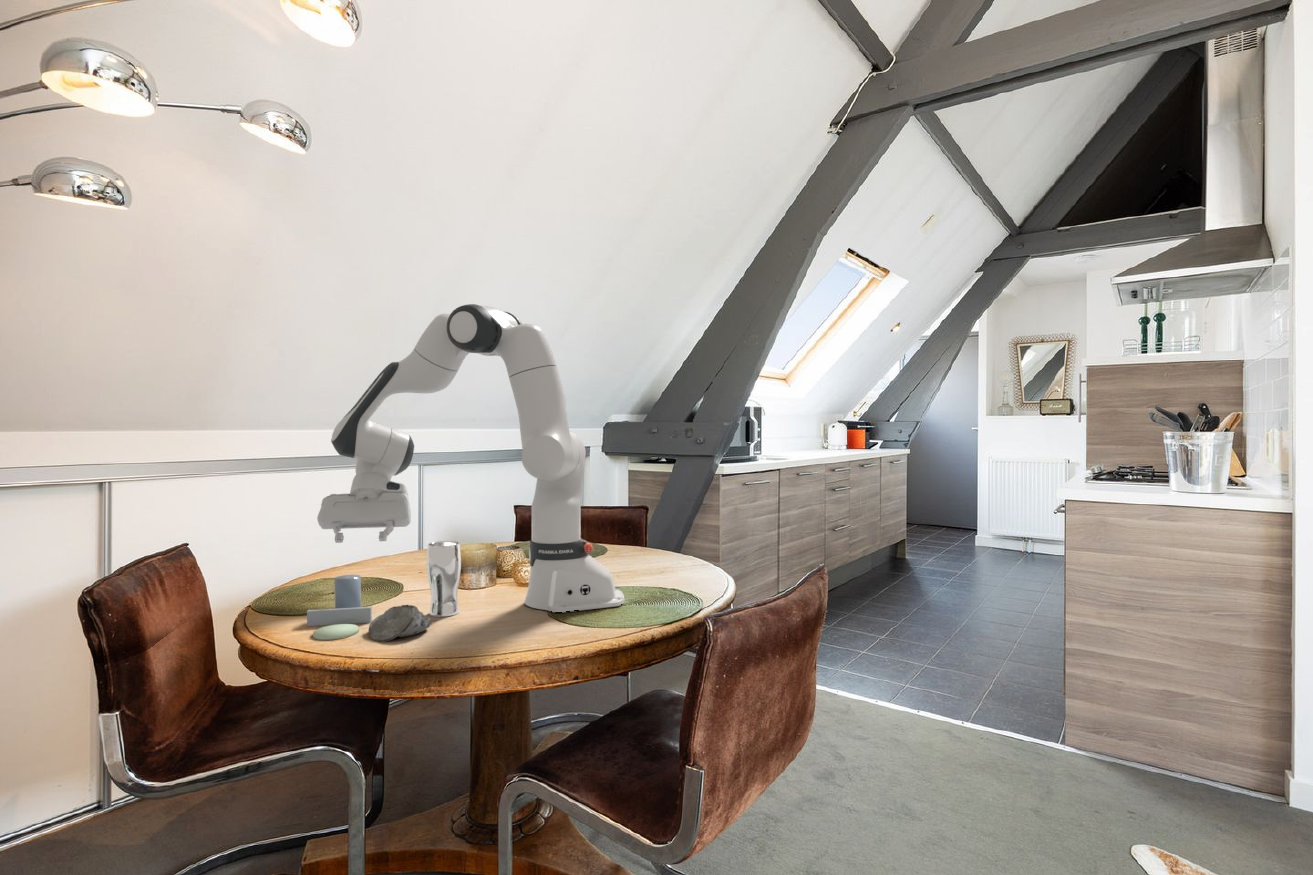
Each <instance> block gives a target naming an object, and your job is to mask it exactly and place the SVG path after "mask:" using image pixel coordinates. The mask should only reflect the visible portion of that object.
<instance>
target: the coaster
mask: <svg viewBox="0 0 1313 875" xmlns="http://www.w3.org/2000/svg"><path fill="white" fill-rule="evenodd" d="M359 630H360V627H359V626H358V625H356V624H337V625H325V626H322V627H320V628H319V627H318V628H317V629H315V630H314V631H312V632H313V633H312V638H313V639H315V640H319V641H334V640H341V639H346V638H349V637H352V636H355V635H357V634H359Z"/></svg>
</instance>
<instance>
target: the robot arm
mask: <svg viewBox="0 0 1313 875" xmlns="http://www.w3.org/2000/svg"><path fill="white" fill-rule="evenodd" d="M469 354H479V355H482V356H486V357H488V356H489V357H495V356H496V357H497V356H498V357H500V358H501V359H502V360H503V362H504V364H505V368H506V372H507V375H508V381H509V382H510V388H511V390H512V394H513V399H514V400H515V405H516V409H517V414H518V415H517V416H518V420H519V421H518V422H519V433H520V440H521V447H522V449H521V462H522V465H523V468H524V469H525V471H526V473H528V474H529V475H530V476H532V477H533V478H535V479H536V483H535V484H536V485H535V490H534V491H535V492H534V495H533V499H532V503H531V539H530V540H529V546H528V558H529V559H528V560H529V562H528V563H529V565H530V572H529V579H528V580H529V582H528V587H527V592H526V596H525V600H524V604H525V606H527V607H530V608H531V609H538V610H545V611H548V612H551V611H552V612H551V613H555V612H562V613H567V612H566V611H570V612H575V611H574V610H579V611H586V610H587V611H588V610H594V609H604V608H613V607H620V606H621V604H622V605H623V604H624V603H625V595H624V593H623V592H622V591H621V590H619V589H618V588H616V587H615V581H614V578H613V574H612V573H611V572H610V570H609V569H608V568H607V567H606V566H605V565H603V564H602V563H600V562H599V561H598V560H597V559H595V558H594V557H593V556H591V555H590V554H591V553H592V552H593V550H594V546H593V544H592V543H590V542H589V541H587V540H585V539H583V538H582V537H581V535H582V532H581V521H582V518H581V516H582V514H581V510H582V508H581V507H582V505H581V504H582V495H583V486H584V478H585V477H584V476H585V465H586V456H587V455H586V454H587V453H586V446H585V444H584V442H583V441H582V439H581V438H580V437H579V436H578V435H577V434H575V433H574V432H572V431H570V428H569V422H568V413H567V404H566V403H567V399H566V396H565V391H564V387H563V384H562V380H561V377H560V373H559V370H558V367H557V362H556V358H555V357H554V354H553V351H552V348H551V346H550V344H549V341H548V339H547V337H546V335H545V333H544V332H543V329H541V328H540V327H539V326H537V325H535V324H531V323H522V322H521V320H520V319H519V318H518V317H517V316H516V315H514V314H512V313H510V312H508V311H503V310H501V309H497V308H495V307H493V306H488V305H478V304H473V303H471V304H470V303H469V304H463V305H460V306H458V307H456V308H455V309H454V310H452V311H451V313H441V314H438V315H436V316H435V317H434V318H433V319H432V321H431V322H430V323H429V324H428V326H427V327H426V328H425V329H424V331H423V332H422V334H421V336H420V337H419V339H418V341H417V343H416V345H414V348H413V349H412V351H411V353H409V354H408V355H407V356H406V357H404V358H403V359H402V360H400V361H393V362H390V363H389V364H388V365H387V366H385V368H383V369H382V371H380V373H379V374H378V375H377V376H376V378H375V379H374V380H373V381H372V383H371V384H370V385H368V388H367V389H366V390H365V391H364V392H363V394H362V395H361V396H360V398H359V399H358V400H357V402H356V403H355V404H354V405H353V407H352V408H351V409H350V410H349V411H348V412H347V413H346V414H345V415H344V416H343V418H342V419H341V420H340V421H338V423H337V424H336V426H335V427H334V429H333V432H332V434H331V439H330V441H331V442H330V443H331V444H332V446H333V448H334V450H335V451H336V453H337V454H338V455H339V456H343V457H347V458H352V459H357V461H356V465H355V475H354V477H353V479H352V483H351V488H350V491H349V493H331V494H329V495H327V496H325V497H323V498H322V501H321V504H320V506H321V507H320V509H319V511H318V514H317V518H316V519H317V522H318V523H317V524H318V526H320V528H321V529H323V530H332V531H333V532H334V541H335V544H341V543H344V540H345V536H344V533H343V532H341V530H343V529H344V530H345V529H374V528H377V529H378V528H384V530H383V531H379V533H378V534H379V535H378V540H379V541H378V542H387V540H388V536H390V534H391V533H392V532H393V531H394V529H395V528H403V527H404V528H406V527H408V526H409V525H410V523H411V521H412V520H411V519H412V514H411V513H412V512H411V507H410V501H409V493H408V490H407V487H406V485H405V484H404V483H401V482H396V481H392V480H391V479H392V478H393V476H394V477H395V476H397V475H399V474H402V473H403V472H404V471H406V470H407V469H408V468H409V466H410V464H411V463H412V461H413V455H414V451H415V443H414V440H413V438H412V436H411V435H410V434H408V433H406V432H403V431H401V430H399V429H396V428H393V427H389V426H386V425H383V424H380V423H377V422H374V421H372V420H370V419H371V417H372V416H373V415H374V413H375V412H376V411H377V410H378V409H379V407H380V406H381V405H382V403H383V402H384V401H385V400H386V399H387V398H388V397H390V396H392V395H395V394H407V393H408V394H409V393H410V394H411V393H412V394H433V393H438V392H440V391H443V390H444V389H447V387H449V385H450V384H451V383H452V381H453V380H454V379H455V377H456V376H457V374H458V371H459V370H460V368H461V366H462V363H464V360H465V358H466V357H467V356H468V355H469Z"/></svg>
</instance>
